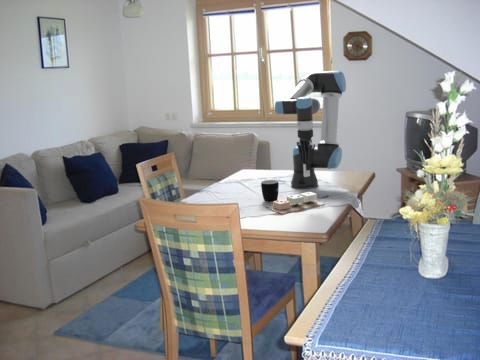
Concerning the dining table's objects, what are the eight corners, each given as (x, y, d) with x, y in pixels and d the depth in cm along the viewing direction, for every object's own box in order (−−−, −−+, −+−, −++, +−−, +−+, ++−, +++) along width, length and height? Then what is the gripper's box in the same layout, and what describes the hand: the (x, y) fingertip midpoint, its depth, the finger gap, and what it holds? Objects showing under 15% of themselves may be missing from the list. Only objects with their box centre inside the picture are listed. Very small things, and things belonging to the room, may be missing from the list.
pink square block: (283, 205, 279) (283, 199, 278) (290, 207, 274) (290, 201, 273) (273, 207, 276) (273, 201, 275) (279, 210, 271) (279, 203, 270)
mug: (279, 202, 287) (278, 183, 285) (262, 203, 287) (261, 184, 285) (278, 196, 299) (277, 178, 296) (261, 197, 299) (260, 178, 297)
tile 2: (297, 200, 282) (296, 193, 281) (303, 202, 277) (303, 196, 276) (286, 202, 279) (286, 196, 279) (293, 204, 274) (293, 198, 273)
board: (308, 199, 290) (308, 198, 290) (324, 204, 278) (324, 203, 278) (266, 207, 279) (266, 206, 279) (281, 214, 267) (281, 213, 267)
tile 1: (310, 197, 286) (309, 191, 285) (317, 199, 280) (316, 193, 280) (300, 199, 283) (300, 193, 282) (307, 201, 278) (306, 195, 277)
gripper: (291, 128, 277) (293, 175, 283) (306, 131, 266) (308, 179, 272) (304, 127, 281) (305, 172, 286) (319, 129, 269) (320, 177, 275)
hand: (306, 176), depth 279 cm, fingers closed
